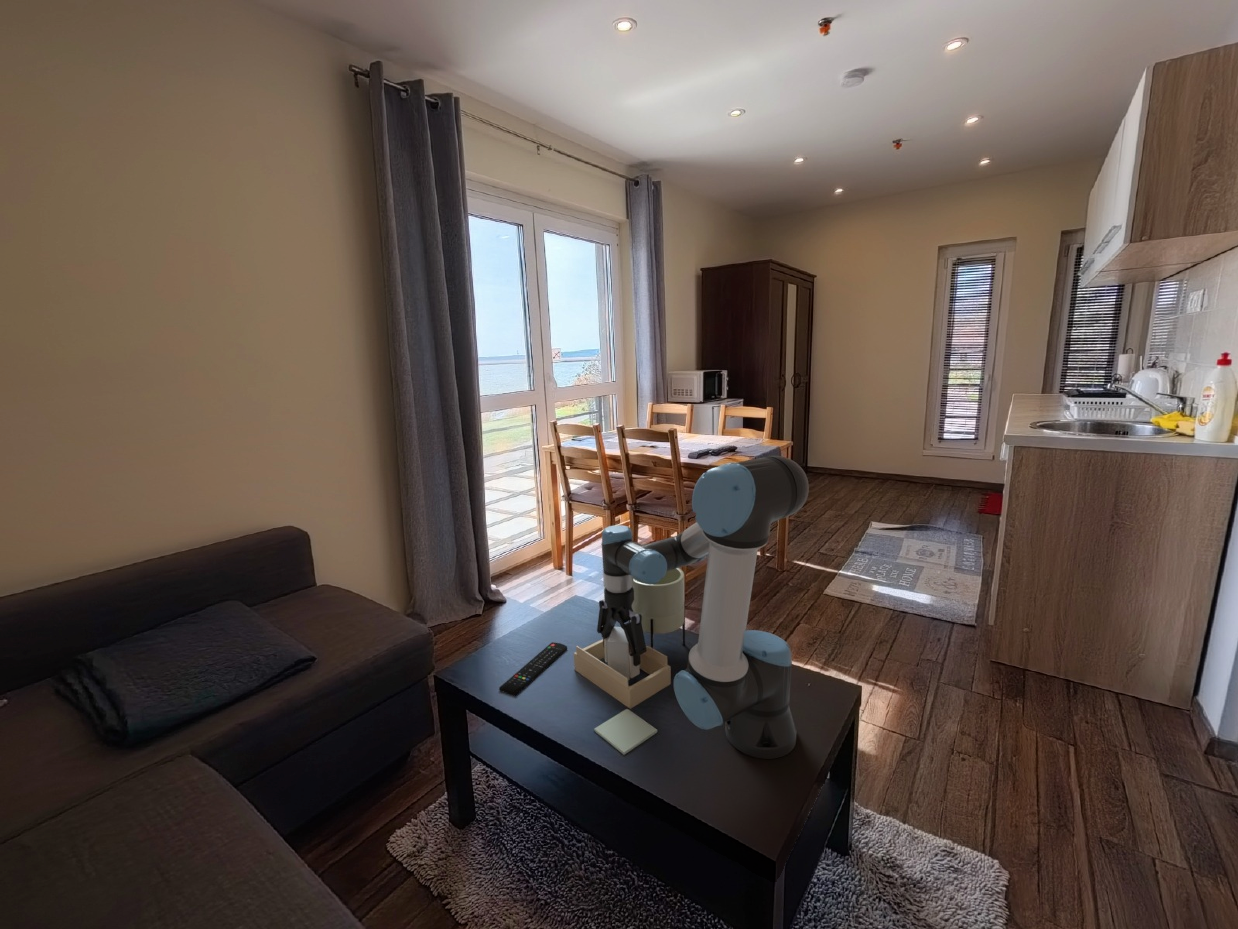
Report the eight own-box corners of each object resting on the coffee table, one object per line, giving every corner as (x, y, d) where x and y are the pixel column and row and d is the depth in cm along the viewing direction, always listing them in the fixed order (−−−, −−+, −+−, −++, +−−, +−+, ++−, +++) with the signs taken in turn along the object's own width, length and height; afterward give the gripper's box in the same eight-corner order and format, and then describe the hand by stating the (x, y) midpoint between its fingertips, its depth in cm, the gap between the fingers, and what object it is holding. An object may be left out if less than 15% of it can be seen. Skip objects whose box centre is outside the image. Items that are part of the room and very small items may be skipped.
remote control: (499, 692, 138) (499, 687, 138) (553, 645, 159) (552, 641, 159) (516, 698, 136) (515, 693, 136) (568, 649, 157) (568, 645, 156)
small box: (629, 681, 137) (628, 643, 135) (608, 679, 138) (606, 641, 136) (635, 663, 145) (634, 627, 143) (614, 661, 146) (613, 625, 144)
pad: (657, 732, 122) (657, 729, 122) (624, 755, 115) (623, 752, 115) (627, 710, 129) (627, 708, 129) (594, 731, 123) (594, 728, 123)
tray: (670, 684, 139) (670, 657, 137) (630, 709, 130) (629, 681, 128) (614, 649, 155) (613, 626, 153) (574, 669, 146) (573, 644, 144)
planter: (652, 629, 165) (651, 558, 160) (695, 648, 155) (695, 572, 150) (617, 649, 155) (615, 574, 150) (660, 671, 144) (659, 591, 139)
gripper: (660, 595, 131) (662, 679, 136) (602, 570, 147) (605, 646, 152) (637, 605, 126) (640, 692, 131) (580, 578, 142) (584, 656, 147)
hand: (621, 667), depth 141 cm, fingers closed on small box, 9 cm apart
